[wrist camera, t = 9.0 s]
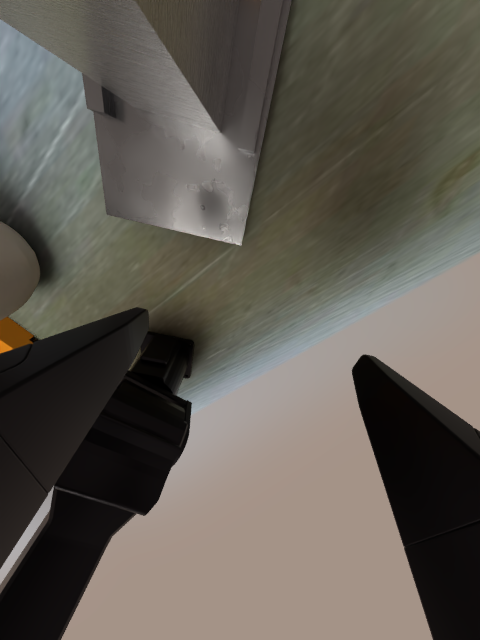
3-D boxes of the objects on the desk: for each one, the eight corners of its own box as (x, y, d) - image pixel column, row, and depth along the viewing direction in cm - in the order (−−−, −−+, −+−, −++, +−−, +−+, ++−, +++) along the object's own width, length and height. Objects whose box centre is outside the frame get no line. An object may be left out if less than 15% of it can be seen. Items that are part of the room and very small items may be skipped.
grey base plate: (242, 240, 19) (239, 253, 15) (120, 212, 18) (85, 218, 14) (310, -91, 10) (342, -252, 6) (83, -167, 10) (-28, -395, 6)
